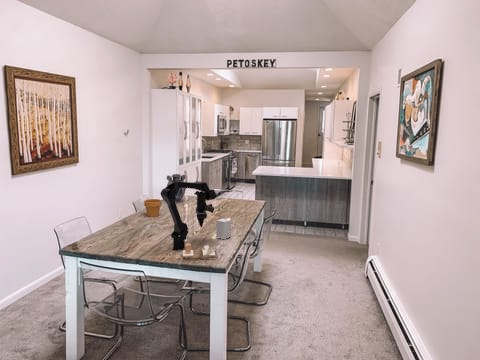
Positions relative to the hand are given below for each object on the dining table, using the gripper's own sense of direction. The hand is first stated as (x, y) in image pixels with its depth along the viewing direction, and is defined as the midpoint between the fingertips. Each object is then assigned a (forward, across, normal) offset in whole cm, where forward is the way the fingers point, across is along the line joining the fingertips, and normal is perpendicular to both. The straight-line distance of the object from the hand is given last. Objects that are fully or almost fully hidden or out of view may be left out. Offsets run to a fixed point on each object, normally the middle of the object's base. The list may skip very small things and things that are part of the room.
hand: (200, 225), depth 227 cm
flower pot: (+12, +74, +36) cm, 83 cm away
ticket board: (+12, -24, +1) cm, 27 cm away
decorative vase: (+12, +130, +18) cm, 132 cm away
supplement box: (+12, +10, -16) cm, 22 cm away
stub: (+10, -24, +8) cm, 27 cm away
